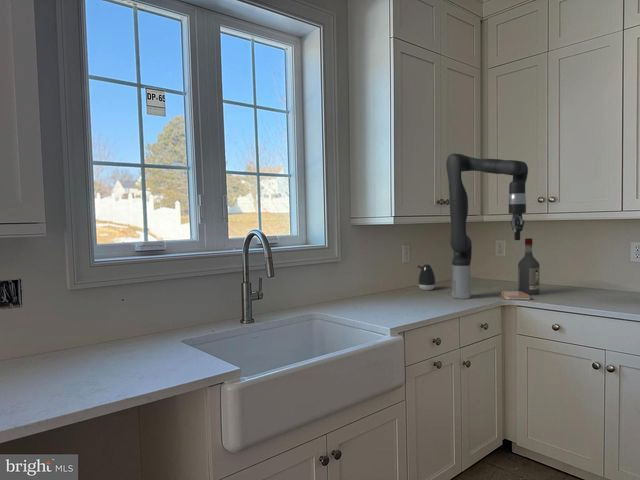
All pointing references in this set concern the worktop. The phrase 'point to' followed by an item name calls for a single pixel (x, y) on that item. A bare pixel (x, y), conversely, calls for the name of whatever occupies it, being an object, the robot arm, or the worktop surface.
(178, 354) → the worktop surface
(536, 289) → the liquor
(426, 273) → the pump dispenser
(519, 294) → the tile
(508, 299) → the mat
